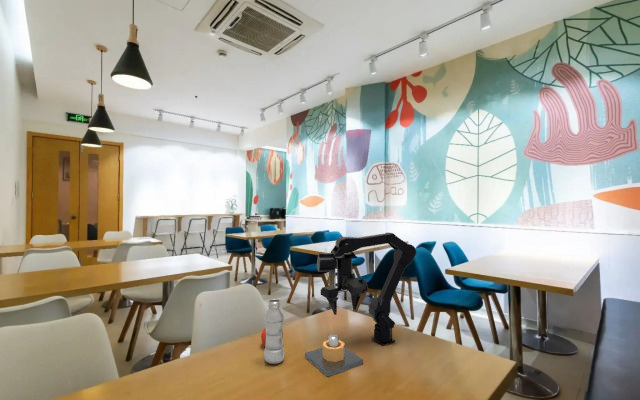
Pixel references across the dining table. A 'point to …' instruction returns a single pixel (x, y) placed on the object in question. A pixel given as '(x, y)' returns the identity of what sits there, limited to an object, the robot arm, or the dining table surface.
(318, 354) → the piston stand
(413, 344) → the dining table surface
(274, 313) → the plastic bottle
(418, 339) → the dining table surface
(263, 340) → the apple
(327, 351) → the collar
